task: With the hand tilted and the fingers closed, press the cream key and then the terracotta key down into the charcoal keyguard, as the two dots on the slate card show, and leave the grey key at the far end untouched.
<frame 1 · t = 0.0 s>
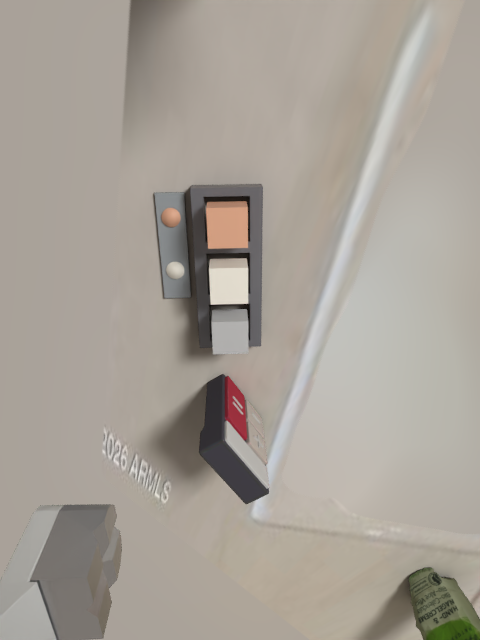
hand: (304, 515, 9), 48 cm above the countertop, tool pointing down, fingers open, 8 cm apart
cream key: (228, 281, 52), point 5 cm above the countertop, slide at 0.0 cm
keyguard frame: (228, 268, 57), on the countertop
terracotta key: (227, 224, 49), point 5 cm above the countertop, slide at 0.0 cm
grey key: (230, 331, 55), point 5 cm above the countertop, slide at 0.0 cm
prompt card: (174, 247, 55), on the countertop
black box: (235, 400, 66), on the countertop
green tapered piece: (426, 580, 88), on the countertop
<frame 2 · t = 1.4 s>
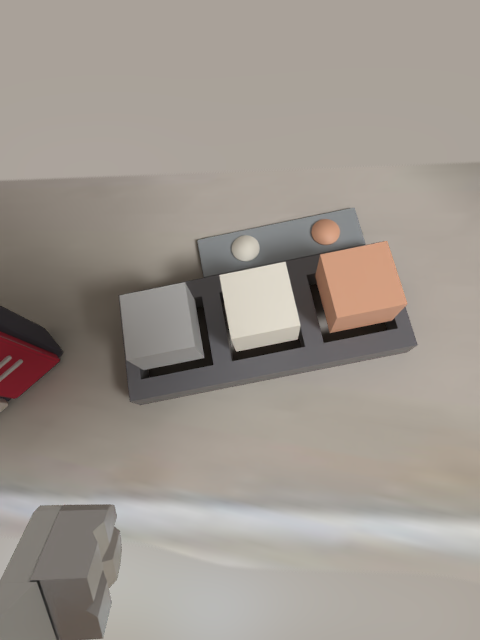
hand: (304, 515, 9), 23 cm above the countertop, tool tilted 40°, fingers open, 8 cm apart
cream key: (259, 308, 30), point 5 cm above the countertop, slide at 0.0 cm
keyguard frame: (262, 327, 35), on the countertop
terracotta key: (357, 288, 30), point 5 cm above the countertop, slide at 0.0 cm
grey key: (163, 327, 30), point 5 cm above the countertop, slide at 0.0 cm
prompt card: (279, 244, 37), on the countertop
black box: (5, 385, 35), on the countertop
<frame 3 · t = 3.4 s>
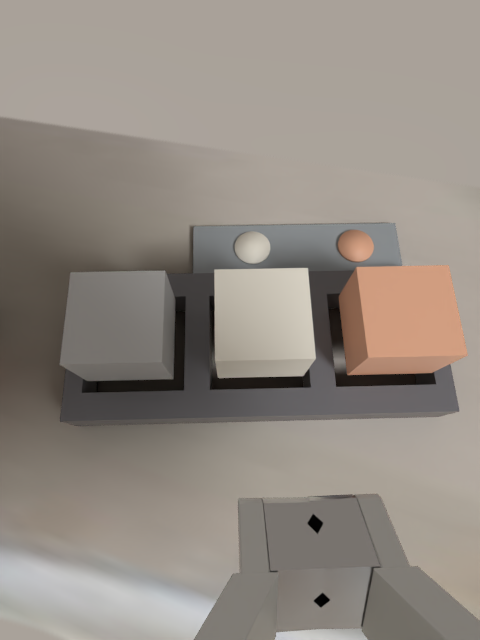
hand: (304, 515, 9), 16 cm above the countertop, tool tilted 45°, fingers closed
cream key: (260, 325, 22), point 5 cm above the countertop, slide at 0.0 cm
keyguard frame: (256, 351, 27), on the countertop
terracotta key: (395, 322, 22), point 5 cm above the countertop, slide at 0.0 cm
grey key: (124, 328, 22), point 5 cm above the countertop, slide at 0.0 cm
prompt card: (295, 250, 29), on the countertop
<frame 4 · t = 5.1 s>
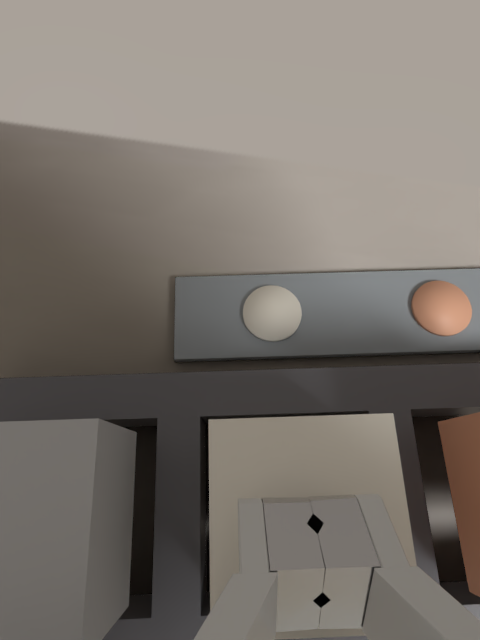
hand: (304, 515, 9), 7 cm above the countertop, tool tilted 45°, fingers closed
cream key: (298, 510, 11), point 4 cm above the countertop, slide at 1.0 cm, touching gripper
keyguard frame: (282, 500, 15), on the countertop
grey key: (22, 524, 10), point 5 cm above the countertop, slide at 0.0 cm
prompt card: (342, 315, 18), on the countertop
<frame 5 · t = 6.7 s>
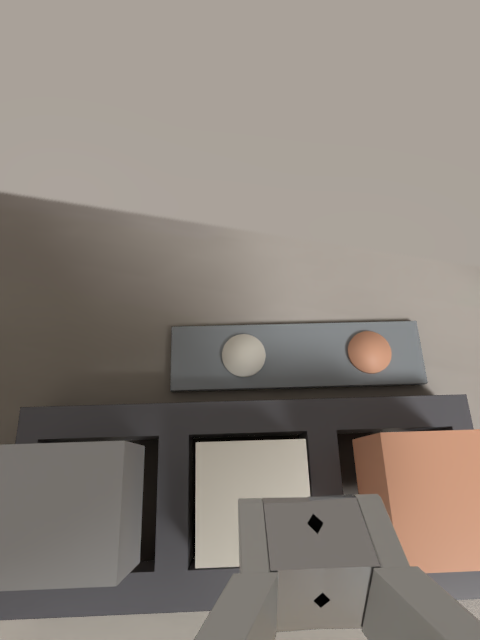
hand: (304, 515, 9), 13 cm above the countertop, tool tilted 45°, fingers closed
cream key: (251, 497, 19), point 3 cm above the countertop, slide at 2.2 cm
keyguard frame: (248, 493, 21), on the countertop
terracotta key: (429, 494, 17), point 5 cm above the countertop, slide at 0.0 cm
grey key: (72, 507, 16), point 5 cm above the countertop, slide at 0.0 cm
prompt card: (296, 356, 24), on the countertop
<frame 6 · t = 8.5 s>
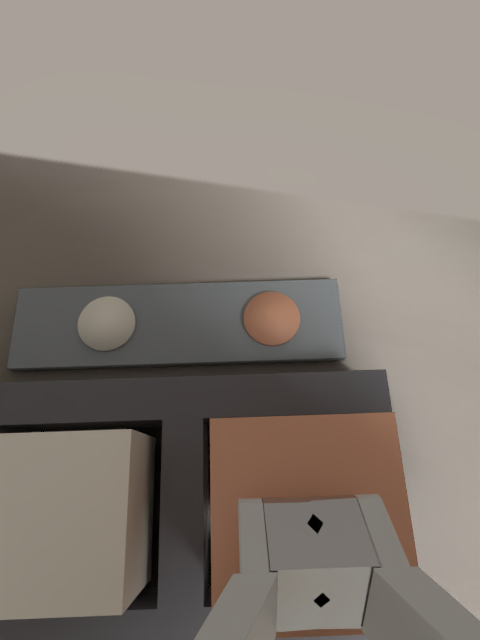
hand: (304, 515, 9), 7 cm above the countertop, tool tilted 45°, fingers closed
cream key: (68, 512, 13), point 3 cm above the countertop, slide at 2.2 cm
keyguard frame: (97, 504, 16), on the countertop
terracotta key: (299, 509, 11), point 5 cm above the countertop, slide at 0.3 cm, touching gripper
prompt card: (179, 325, 18), on the countertop
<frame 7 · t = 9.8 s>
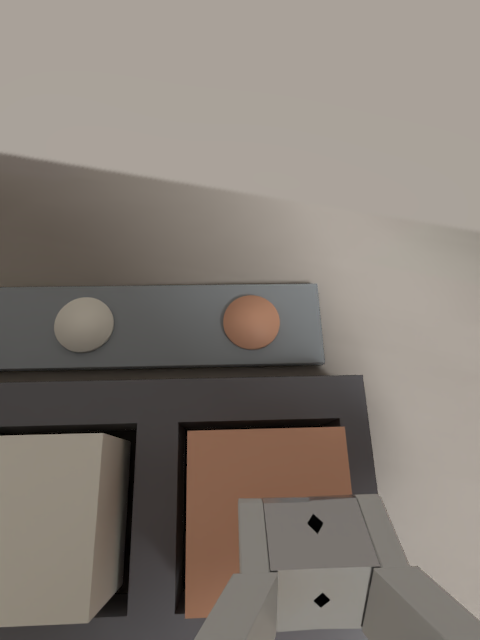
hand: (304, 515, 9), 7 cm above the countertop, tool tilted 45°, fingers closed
cream key: (38, 517, 13), point 3 cm above the countertop, slide at 2.2 cm
keyguard frame: (70, 509, 16), on the countertop
terracotta key: (264, 509, 13), point 3 cm above the countertop, slide at 2.2 cm
prompt card: (158, 327, 18), on the countertop
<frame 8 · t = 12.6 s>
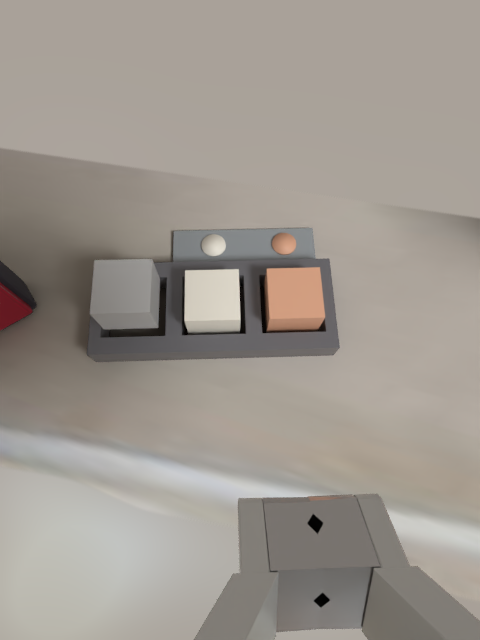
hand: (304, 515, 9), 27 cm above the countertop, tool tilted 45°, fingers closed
cream key: (213, 302, 37), point 3 cm above the countertop, slide at 2.2 cm
keyguard frame: (214, 314, 40), on the countertop
terracotta key: (292, 301, 37), point 3 cm above the countertop, slide at 2.2 cm
grey key: (127, 295, 35), point 5 cm above the countertop, slide at 0.0 cm
prompt card: (243, 247, 42), on the countertop
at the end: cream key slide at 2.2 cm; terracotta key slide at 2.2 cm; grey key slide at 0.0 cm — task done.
